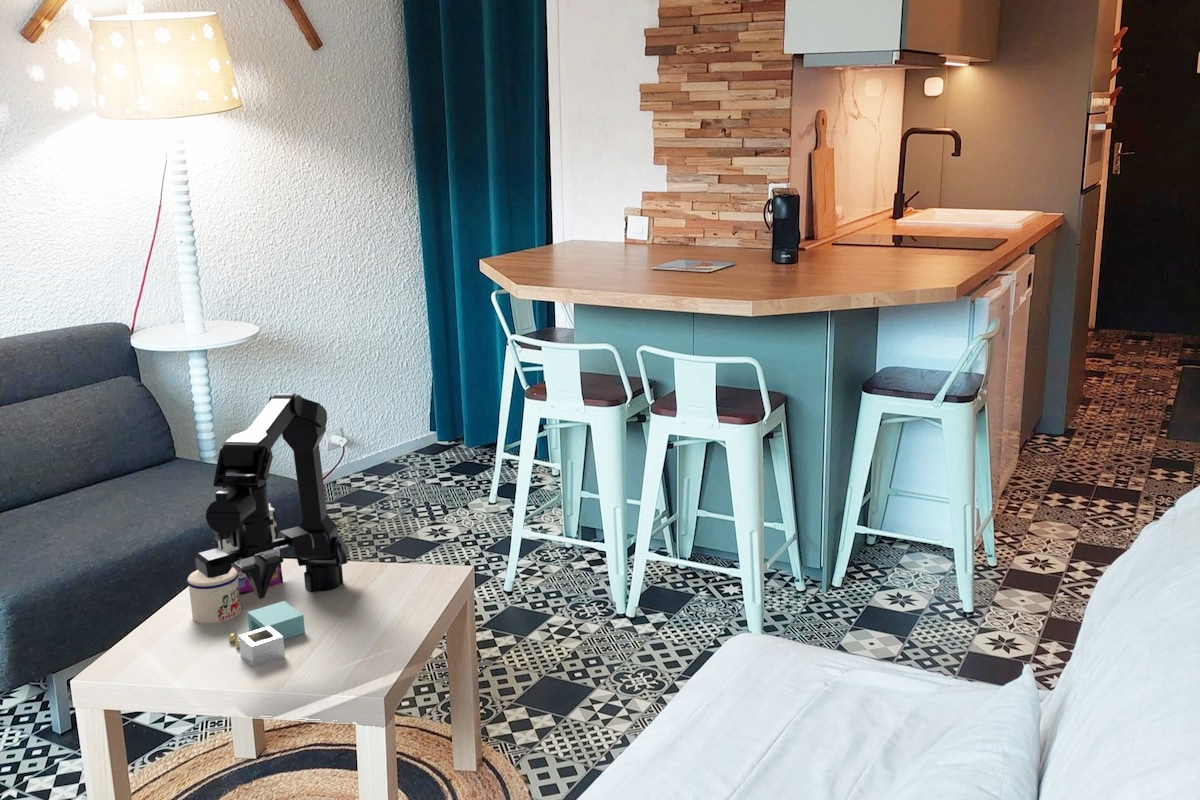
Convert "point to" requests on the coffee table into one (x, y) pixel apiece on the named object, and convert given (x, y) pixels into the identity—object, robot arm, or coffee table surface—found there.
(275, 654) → the hollow square metal block
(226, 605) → the teacup with lid
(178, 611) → the coffee table surface
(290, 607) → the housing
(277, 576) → the candy bar box
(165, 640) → the coffee table surface
